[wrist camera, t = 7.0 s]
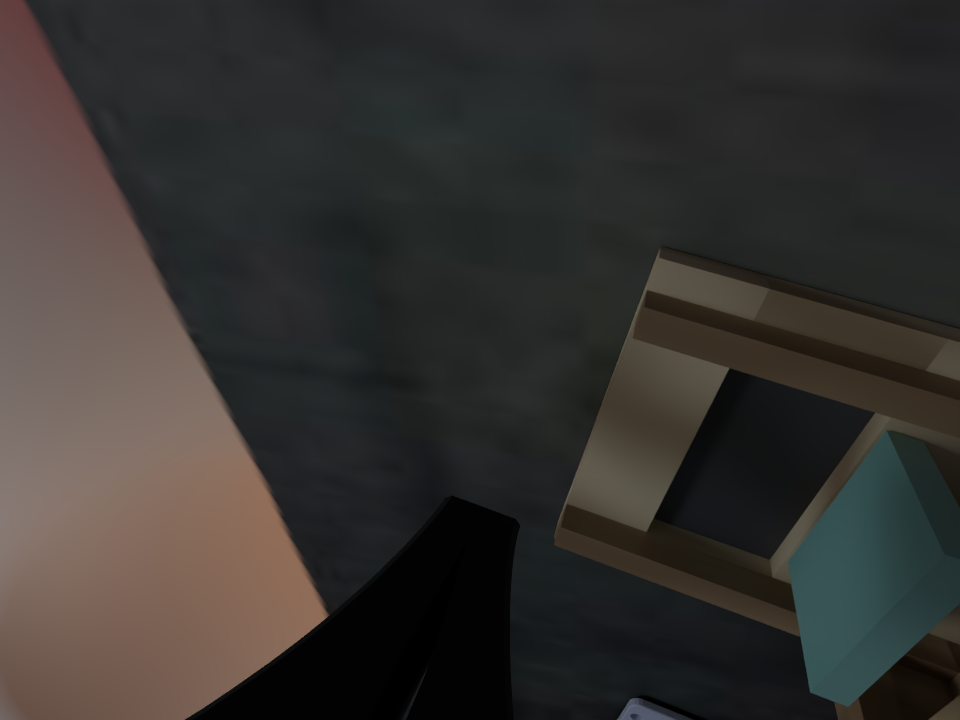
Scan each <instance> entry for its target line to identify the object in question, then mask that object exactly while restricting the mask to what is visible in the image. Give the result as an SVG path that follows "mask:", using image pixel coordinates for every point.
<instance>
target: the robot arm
mask: <svg viewBox="0 0 960 720" xmlns="http://www.w3.org/2000/svg"><path fill="white" fill-rule="evenodd" d="M519 528H520V525H519V523H518V522H517V520H516V519H514V518H511V517H509V516H506V515H503V514H501V513H498V512H495V511H492V510H490V509H487V508H484V507H482V506H479V505H476V504H473V503H471V502H468V501H465V500H463V499H460V498H457V497H454V496H450V497H447V498H445V499H444V501H443V502H442V503H441V505H440V506H439V507H438V509H437V510H436V511H435V512H434V513H433V515H432V516H431V517H430V518H429V520H428V521H427V522H426V523H425V524H424V525H423V526H422V528H421V529H420V530H419V531H418V532H417V533H416V534H415V535H414V536H413V537H412V538H411V540H410V541H409V542H408V543H407V544H406V545H405V546H404V547H403V548H402V549H401V550H400V551H399V552H398V553H397V554H396V555H395V556H394V557H393V558H392V559H391V560H390V561H389V562H388V563H387V564H386V565H385V566H384V567H383V568H382V569H381V570H380V571H379V572H378V573H377V574H376V575H375V576H373V577H372V578H371V579H370V580H369V581H368V582H367V583H366V584H365V585H364V586H363V587H362V588H360V589H359V590H358V591H357V592H356V593H355V594H354V595H352V596H351V597H350V598H349V599H348V600H347V601H346V602H344V603H343V604H342V605H341V606H340V607H339V608H338V609H336V610H335V611H334V612H333V613H332V614H331V615H330V616H328V617H327V618H326V619H325V620H324V621H322V622H321V623H320V624H319V625H317V626H316V627H315V628H314V629H312V630H311V631H310V632H309V633H308V634H306V635H305V636H304V637H302V638H301V639H300V640H299V641H297V642H296V643H295V644H293V646H291V647H289V648H288V649H287V650H286V651H284V652H283V653H282V654H280V655H279V656H278V657H276V658H275V659H274V660H272V661H271V662H270V663H268V664H267V665H265V666H264V667H263V668H261V669H260V670H258V671H257V672H256V673H254V674H253V675H251V676H250V677H248V678H247V679H245V680H244V681H243V682H241V683H240V684H239V685H237V686H236V687H234V688H233V689H231V690H230V691H229V692H227V693H225V694H224V695H222V696H221V697H219V698H218V699H217V700H215V701H213V702H212V703H210V704H209V705H207V706H206V707H205V708H203V709H201V710H200V711H198V712H197V713H195V714H193V715H192V716H190V717H189V718H187V719H185V720H402V718H403V716H404V714H405V712H406V710H407V708H408V706H409V704H410V702H411V700H412V698H413V696H414V694H415V692H416V690H417V687H418V685H419V683H420V681H421V679H422V677H423V675H424V673H425V671H426V669H427V671H426V674H425V677H424V679H423V681H422V684H421V686H420V689H419V691H418V693H417V696H416V698H415V700H414V703H413V705H412V707H411V710H410V712H409V714H408V717H407V719H406V720H513V706H512V689H511V671H510V592H511V578H512V566H513V557H514V551H515V545H516V540H517V535H518V531H519ZM428 665H429V666H428ZM427 667H428V668H427ZM617 720H693V719H691V718H688V717H686V716H683V715H681V714H678V713H676V712H674V711H671V710H669V709H666V708H664V707H661V706H659V705H656V704H654V703H651V702H649V701H646V700H644V699H641V698H632V699H631V700H630V701H629V702H628V704H627V705H626V707H625V708H624V710H623V712H622V713H621V715H620V716H619V718H618V719H617Z"/></svg>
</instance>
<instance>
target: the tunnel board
mask: <svg viewBox="0 0 960 720" xmlns="http://www.w3.org/2000/svg"><path fill="white" fill-rule="evenodd" d="M886 430H887V431H891V432H894V433H897V434H900V435H904V436H907V437H910V438H913V439H917V440H920V441H923V442H924V443H925V445H926V447H927V449H928V450H929V452H930V454H931V456H932V458H933V460H934V462H935V463H936V465H937V467H938V469H939V471H940V473H941V474H942V476H943V478H944V480H945V482H946V484H947V485H948V487H949V489H950V491H951V493H952V495H953V496H954V498H955V500H956V502H957V504H958V506H959V507H960V329H958V328H954V327H951V326H947V325H944V324H940V323H936V322H933V321H929V320H926V319H922V318H918V317H915V316H911V315H907V314H904V313H900V312H897V311H893V310H889V309H886V308H882V307H879V306H875V305H871V304H868V303H864V302H861V301H857V300H853V299H850V298H846V297H843V296H839V295H835V294H832V293H828V292H825V291H821V290H817V289H814V288H810V287H807V286H803V285H799V284H796V283H792V282H788V281H785V280H781V279H778V278H774V277H770V276H767V275H763V274H760V273H756V272H752V271H749V270H745V269H742V268H738V267H734V266H731V265H727V264H724V263H720V262H716V261H713V260H709V259H706V258H702V257H698V256H695V255H691V254H687V253H684V252H680V251H677V250H673V249H669V248H666V247H662V246H660V249H659V252H658V254H657V257H656V260H655V262H654V265H653V268H652V270H651V273H650V276H649V278H648V281H647V284H646V287H645V289H644V292H643V295H642V297H641V300H640V303H639V305H638V308H637V311H636V313H635V316H634V319H633V321H632V324H631V327H630V330H629V332H628V335H627V338H626V340H625V343H624V346H623V348H622V351H621V354H620V356H619V359H618V362H617V364H616V367H615V370H614V373H613V375H612V378H611V381H610V383H609V386H608V389H607V391H606V394H605V397H604V399H603V402H602V405H601V407H600V410H599V413H598V416H597V418H596V421H595V424H594V426H593V429H592V432H591V434H590V437H589V440H588V442H587V445H586V448H585V450H584V453H583V456H582V459H581V461H580V464H579V467H578V469H577V472H576V475H575V477H574V480H573V483H572V485H571V488H570V491H569V494H568V496H567V499H566V502H565V504H564V507H563V510H562V512H561V515H560V518H559V521H558V524H557V528H556V532H555V536H554V539H556V540H555V543H554V545H555V546H558V547H560V548H563V549H566V550H568V551H571V552H574V553H577V554H579V555H582V556H585V557H587V558H590V559H593V560H595V561H598V562H601V563H603V564H606V565H609V566H611V567H614V568H617V569H620V570H622V571H625V572H628V573H630V574H633V575H636V576H638V577H641V578H644V579H646V580H649V581H652V582H654V583H657V584H660V585H663V586H665V587H668V588H671V589H673V590H676V591H679V592H681V593H684V594H687V595H689V596H692V597H695V598H697V599H700V600H703V601H706V602H708V603H711V604H714V605H716V606H719V607H722V608H724V609H727V610H730V611H732V612H735V613H738V614H740V615H743V616H746V617H749V618H751V619H754V620H757V621H759V622H762V623H765V624H767V625H770V626H773V627H775V628H778V629H781V630H784V631H786V632H789V633H792V634H794V635H797V636H800V631H799V625H798V619H797V614H796V608H795V602H794V596H793V591H792V585H791V579H790V574H789V568H788V561H789V560H790V558H791V557H792V556H793V554H794V553H795V552H796V550H797V549H798V548H799V546H800V545H801V544H802V542H803V541H804V540H805V538H806V537H807V536H808V534H809V533H810V532H811V530H812V529H813V528H814V526H815V525H816V524H817V522H818V521H819V520H820V518H821V517H822V515H823V514H824V513H825V511H826V510H827V509H828V507H829V506H830V505H831V503H832V502H833V501H834V499H835V498H836V497H837V495H838V494H839V493H840V491H841V490H842V489H843V487H844V486H845V485H846V483H847V482H848V481H849V479H850V478H851V477H852V475H853V474H854V473H855V471H856V470H857V469H858V467H859V466H860V465H861V463H862V462H863V461H864V459H865V458H866V457H867V455H868V454H869V452H870V451H871V450H872V448H873V447H874V446H875V444H876V443H877V442H878V440H879V439H880V438H881V436H882V435H883V434H884V432H885V431H886ZM800 637H801V636H800ZM835 707H836V711H837V716H838V720H960V604H959V605H958V606H956V607H955V608H954V609H953V610H952V611H951V612H950V613H949V614H948V615H947V616H946V617H945V618H944V619H942V620H941V621H940V622H939V623H938V624H937V625H936V626H935V627H934V628H933V629H932V630H931V631H930V632H928V633H927V634H926V635H925V636H924V637H923V638H922V639H921V640H920V641H919V642H918V643H917V644H916V645H914V646H913V647H912V648H911V649H910V650H909V651H908V652H907V653H906V654H905V655H904V656H903V657H902V658H900V659H899V660H898V661H897V662H896V663H895V664H894V665H893V666H892V667H891V668H890V669H889V670H888V671H886V672H885V673H884V674H883V675H882V676H881V677H880V678H879V679H878V680H877V681H876V682H875V683H874V684H872V685H871V686H870V687H869V688H868V689H867V690H866V691H865V692H864V693H863V694H862V695H861V696H859V697H858V698H857V699H856V700H855V701H854V702H853V703H852V704H851V705H850V706H849V707H847V706H844V705H842V704H839V703H837V702H835Z"/></svg>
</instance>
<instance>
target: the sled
mask: <svg viewBox="0 0 960 720" xmlns="http://www.w3.org/2000/svg"><path fill="white" fill-rule="evenodd" d="M788 568H789V574H790V579H791V585H792V591H793V596H794V602H795V608H796V614H797V619H798V625H799V631H800V636H801V642H802V648H803V653H804V659H805V665H806V670H807V676H808V682H809V687H810V692H811V693H813V694H816V695H818V696H821V697H824V698H826V699H829V700H831V701H834V702H837V703H839V704H842V705H844V706H847V707H849V706H850V705H851V704H852V703H853V702H854V701H855V700H856V699H857V698H858V697H859V696H861V695H862V694H863V693H864V692H865V691H866V690H867V689H868V688H869V687H870V686H871V685H872V684H874V683H875V682H876V681H877V680H878V679H879V678H880V677H881V676H882V675H883V674H884V673H885V672H886V671H888V670H889V669H890V668H891V667H892V666H893V665H894V664H895V663H896V662H897V661H898V660H899V659H900V658H902V657H903V656H904V655H905V654H906V653H907V652H908V651H909V650H910V649H911V648H912V647H913V646H914V645H916V644H917V643H918V642H919V641H920V640H921V639H922V638H923V637H924V636H925V635H926V634H927V633H928V632H930V631H931V630H932V629H933V628H934V627H935V626H936V625H937V624H938V623H939V622H940V621H941V620H942V619H944V618H945V617H946V616H947V615H948V614H949V613H950V612H951V611H952V610H953V609H954V608H955V607H956V606H958V605H959V604H960V507H959V506H958V504H957V502H956V500H955V498H954V496H953V495H952V493H951V491H950V489H949V487H948V485H947V484H946V482H945V480H944V478H943V476H942V474H941V473H940V471H939V469H938V467H937V465H936V463H935V462H934V460H933V458H932V456H931V454H930V452H929V450H928V449H927V447H926V445H925V443H924V442H923V441H920V440H917V439H913V438H910V437H907V436H904V435H900V434H897V433H894V432H891V431H887V430H886V431H885V432H884V434H883V435H882V436H881V438H880V439H879V440H878V442H877V443H876V444H875V446H874V447H873V448H872V450H871V451H870V452H869V454H868V455H867V457H866V458H865V459H864V461H863V462H862V463H861V465H860V466H859V467H858V469H857V470H856V471H855V473H854V474H853V475H852V477H851V478H850V479H849V481H848V482H847V483H846V485H845V486H844V487H843V489H842V490H841V491H840V493H839V494H838V495H837V497H836V498H835V499H834V501H833V502H832V503H831V505H830V506H829V507H828V509H827V510H826V511H825V513H824V514H823V515H822V517H821V518H820V520H819V521H818V522H817V524H816V525H815V526H814V528H813V529H812V530H811V532H810V533H809V534H808V536H807V537H806V538H805V540H804V541H803V542H802V544H801V545H800V546H799V548H798V549H797V550H796V552H795V553H794V554H793V556H792V557H791V558H790V560H789V561H788Z"/></svg>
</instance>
